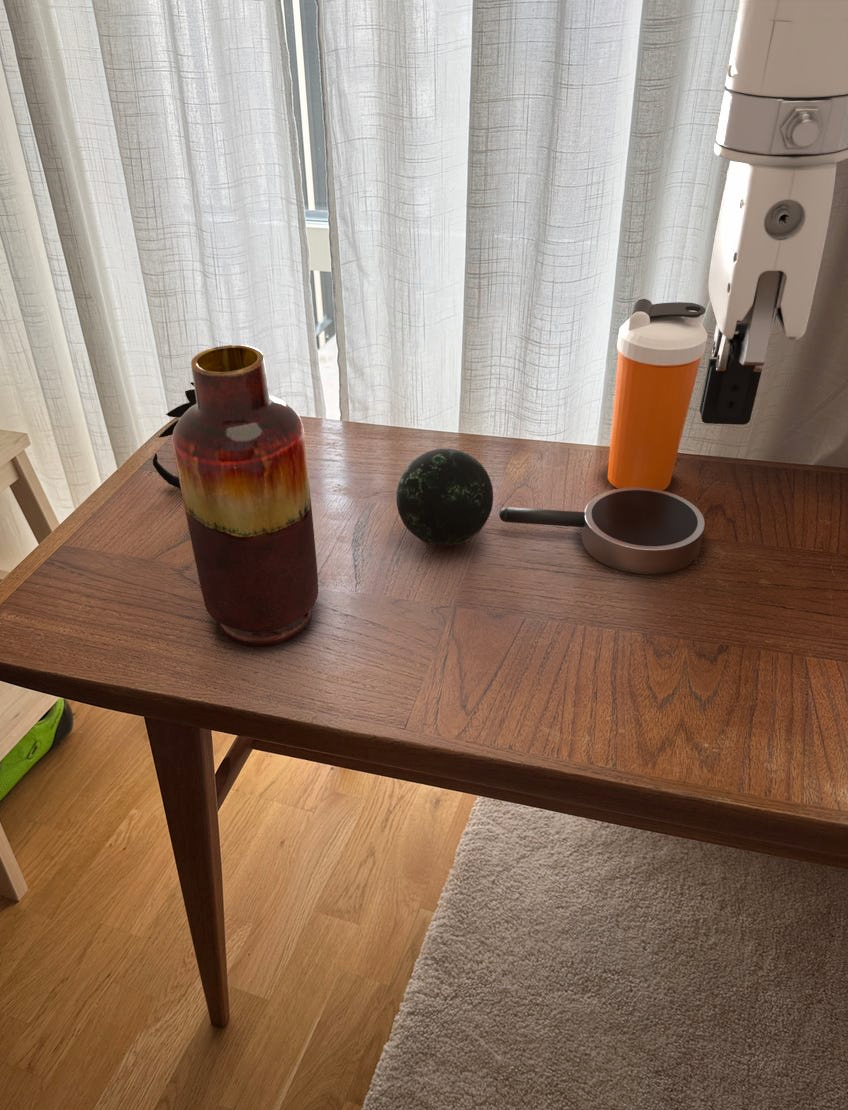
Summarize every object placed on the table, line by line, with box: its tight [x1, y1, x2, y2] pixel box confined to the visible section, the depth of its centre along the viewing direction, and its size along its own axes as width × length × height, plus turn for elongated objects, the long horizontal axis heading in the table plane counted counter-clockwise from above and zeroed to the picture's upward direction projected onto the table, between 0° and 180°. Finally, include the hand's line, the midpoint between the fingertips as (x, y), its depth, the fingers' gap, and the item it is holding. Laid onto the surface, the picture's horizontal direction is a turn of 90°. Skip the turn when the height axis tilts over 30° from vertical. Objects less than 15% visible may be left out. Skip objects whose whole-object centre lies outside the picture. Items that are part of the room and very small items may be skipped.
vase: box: [171, 344, 319, 647], centre depth 81 cm, size 11×11×26 cm
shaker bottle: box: [607, 298, 709, 491], centre depth 100 cm, size 9×9×20 cm
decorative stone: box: [395, 448, 494, 547], centre depth 95 cm, size 10×10×10 cm
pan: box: [498, 487, 706, 575], centre depth 96 cm, size 21×12×3 cm, turn 79°
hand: (723, 418), depth 64 cm, fingers closed
